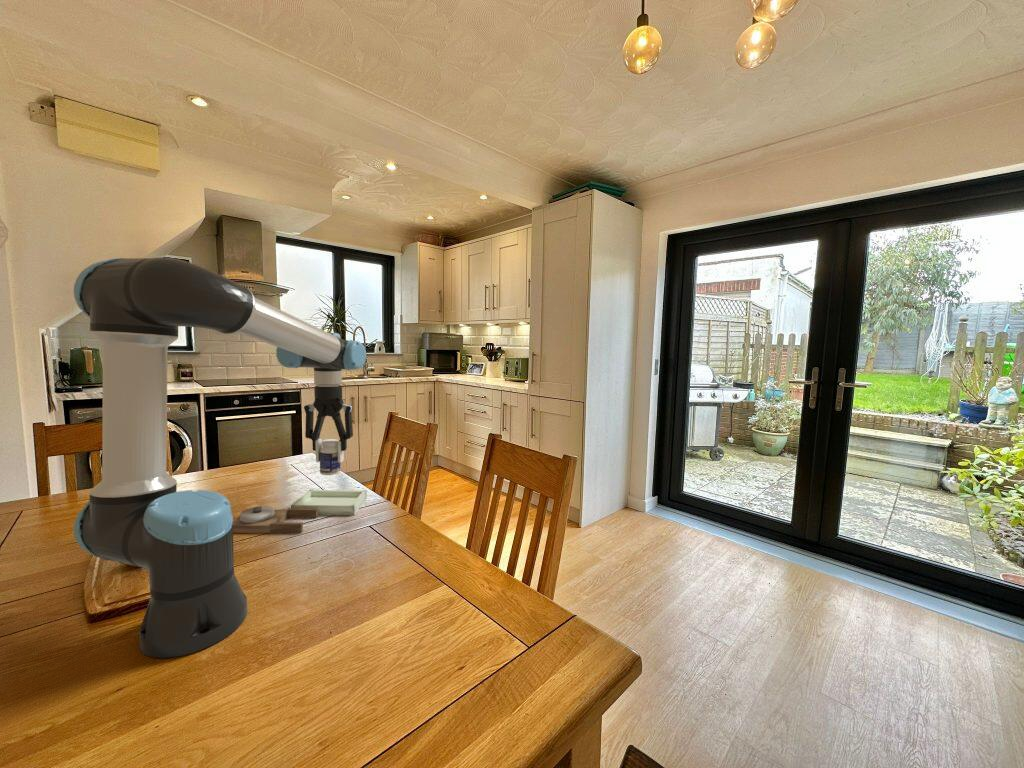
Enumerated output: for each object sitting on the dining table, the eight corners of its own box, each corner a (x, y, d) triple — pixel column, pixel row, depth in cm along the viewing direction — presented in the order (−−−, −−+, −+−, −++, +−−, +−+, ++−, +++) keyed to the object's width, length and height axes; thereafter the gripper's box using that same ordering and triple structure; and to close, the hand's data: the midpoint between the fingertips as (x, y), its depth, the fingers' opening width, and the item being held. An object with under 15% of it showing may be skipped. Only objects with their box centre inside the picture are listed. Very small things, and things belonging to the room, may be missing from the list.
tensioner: (301, 533, 107) (300, 516, 107) (227, 532, 106) (226, 515, 106) (317, 516, 117) (317, 501, 117) (250, 516, 116) (249, 500, 116)
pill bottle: (335, 476, 121) (335, 443, 119) (316, 475, 121) (316, 442, 119) (343, 470, 126) (343, 438, 125) (325, 469, 126) (325, 437, 125)
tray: (354, 515, 119) (353, 505, 118) (291, 515, 118) (290, 505, 118) (366, 499, 131) (366, 490, 130) (309, 498, 130) (309, 489, 129)
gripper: (364, 384, 124) (365, 457, 127) (301, 382, 124) (304, 457, 126) (356, 387, 117) (357, 465, 119) (289, 385, 116) (292, 464, 119)
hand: (330, 460), depth 123 cm, fingers closed on pill bottle, 6 cm apart
